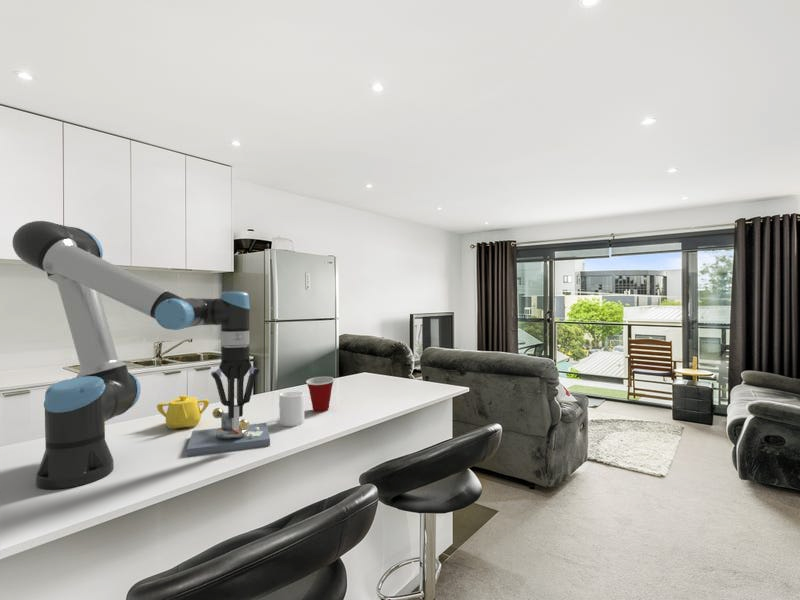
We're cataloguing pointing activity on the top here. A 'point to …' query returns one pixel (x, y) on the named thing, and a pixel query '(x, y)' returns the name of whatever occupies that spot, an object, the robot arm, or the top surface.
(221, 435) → the grey lever with knob
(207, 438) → the stand
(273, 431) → the top surface
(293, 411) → the cup
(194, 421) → the yellow sugar bowl
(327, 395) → the plastic cup
